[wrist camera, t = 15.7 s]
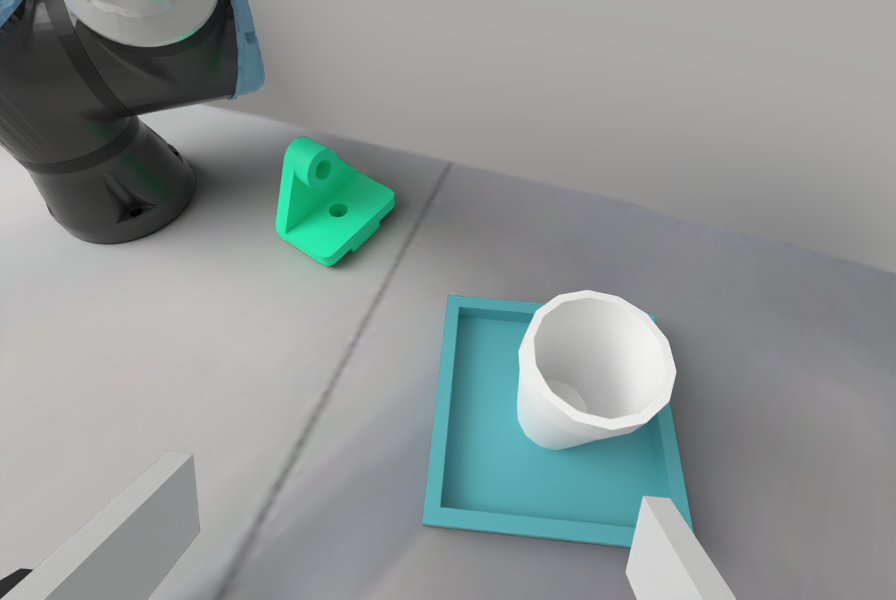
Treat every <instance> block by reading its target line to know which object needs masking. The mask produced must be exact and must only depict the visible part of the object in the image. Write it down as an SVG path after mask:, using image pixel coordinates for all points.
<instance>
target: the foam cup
mask: <svg viewBox="0 0 896 600" xmlns="http://www.w3.org/2000/svg"><path fill="white" fill-rule="evenodd" d="M518 353H519V368H520V373H519V384H518V396H517V414H518V422H519V423H520V425H521V427H522V429H523V431H524V433H525V435H526V436H527V437H529V438H530V439H531V440H532V441H534V442H535V443H536V444H537V445H539V446H540V447H544V448H548V449H552V450H561V449H565V448H570V447H575V446H578V445H581V444H584V443H588V442H591V441H594V440H600V439H605V438H610V437H614V436H619V435H624V434H628V433H631V432H633V431H635V430H636V429H638V428H639V427H641V426H642V425H644V424H645V423H647V422H648V421H649V420H650V419H651V418H652V417H653V416H654V415H655V414H656V413H657V412H658V411H659V410H661V409H662V408H663V407H664V406H665V405H666V404H667V403H668V402H669V400H670V396H671V392H672V388H673V384H674V380H675V376H676V372H677V371H676V368H675V364H674V360H673V357H672V353H671V349H670V345H669V342H668V340H667V338H666V337H665V336H664V335H663V333H662V332H661V331H660V330H659V328H658V327H657V326H656V325H655V323H654V322H653V321H652V319H651V318H650V317H649V316H648V314H646V313H645V312H643V311H641V310H640V309H638V308H636V307H635V306H633V305H632V304H630V303H628V302H627V301H625V300H623V299H622V298H620V297H618V296H613V295H609V294H604V293H599V292H595V291H590V290H585V291H579V292H573V293H567V294H561V295H558V296H556V297H555V298H554V299H552V300H551V301H549V302H548V303H547V304H545V305H544V306H542V307H541V308H540V309H538V310H537V311H536V312H535V314H534V316H533V318H532V321H531V323H530V325H529V327H528V329H527V331H526V334H525V336H524V338H523V341H522V343H521V346H520V349H519V351H518Z"/></svg>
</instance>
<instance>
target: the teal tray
mask: <svg viewBox="0 0 896 600" xmlns="http://www.w3.org/2000/svg"><path fill="white" fill-rule="evenodd" d="M544 305H545V304H543V303H532V302H521V301H510V300H498V299H487V298H476V297H465V296H454V295H448V298H447V307H446V316H445V325H444V334H443V343H442V352H441V361H440V370H439V379H438V388H437V397H436V405H435V414H434V423H433V432H432V441H431V450H430V459H429V468H428V477H427V486H426V495H425V504H424V513H423V521H422V524H423V526H429V527H438V528H447V529H456V530H465V531H475V532H484V533H493V534H502V535H511V536H521V537H530V538H539V539H548V540H557V541H567V542H576V543H585V544H594V545H604V546H613V547H622V548H631V546H632V542H633V537H634V533H635V529H636V524H637V520H638V516H639V511H640V507H641V503H642V498H643V496H652V497H663V498H670V499H671V501H672V502H673V504H674V505H675V507H676V508H677V510H678V511H679V513H680V514H681V516H682V517H683V519H684V520H685V522H686V523H687V525H688V526H689V528H690V529H691V531H692V532H693V528H692V522H691V517H690V511H689V505H688V500H687V494H686V489H685V483H684V478H683V472H682V467H681V461H680V455H679V450H678V444H677V439H676V433H675V428H674V422H673V417H672V411H671V406H670V400H669V402H668V403H667V404H666V405H665V406H664V407H663V408H662V409H661V410H659V411H658V412H657V413H656V414H655V415H654V416H653V417H652V418H651V419H650V420H649V421H648V422H647V423H645V424H644V425H642V426H641V427H639V428H638V429H636V430H635V431H633V432H631V433H628V434H624V435H619V436H614V437H610V438H605V439H600V440H594V441H591V442H588V443H584V444H581V445H578V446H575V447H570V448H565V449H561V450H552V449H548V448H544V447H540V446H539V445H537V444H536V443H535V442H534V441H532V440H531V439H530V438H529V437H527V436H526V435H525V433H524V431H523V429H522V427H521V425H520V423H519V422H518V414H517V396H518V384H519V373H520V368H519V353H518V351H519V349H520V346H521V343H522V341H523V338H524V336H525V334H526V331H527V329H528V327H529V325H530V323H531V321H532V318H533V316H534V314H535V312H536V311H537V310H538V309H540V308H541V307H542V306H544ZM646 314H648V316H649V317H650V318H651V319H652V321H653V322H654V323H655V325H656V322H655V317H654V313H646ZM693 534H694V533H693Z"/></svg>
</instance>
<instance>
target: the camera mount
mask: <svg viewBox="0 0 896 600" xmlns="http://www.w3.org/2000/svg"><path fill="white" fill-rule="evenodd" d="M394 206H395V198H394V192H393V191H392V190H391V189H389V188H387V187H385V186H384V185H382V184H380V183H378V182H376V181H374V180H372V179H371V178H369V177H367V176H365V175H363V174H361V173H359V172H358V171H356V170H355V169H354V168H352V167H351V166H350V165H348V164H347V163H345V162H344V161H343V160H341V159H340V158H339V157H337V155H336V153H335V152H334V151H332V150H331V149H329V148H327V147H325V146H323V145H321V144H319V143H317V142H315V141H314V140H312V139H310V138H308V137H299V138H297V139H295V140H294V141H293V142H292V143H291V144H290V145H289V146H288V148H287V150H286V152H285V156H284V162H283V170H282V178H281V185H280V193H279V201H278V209H277V216H276V224H275V229H276V231H277V233H278V235H279V237H280V238H282V239H284V240H285V241H287V242H288V243H290V244H291V245H293V246H294V247H296V248H298V249H299V250H301V251H302V252H304V253H305V254H307V255H309V256H310V257H312V258H313V259H315V260H316V261H318V262H319V263H321V264H323V265H325V266H330V265H333V264H335V263H336V262H338V261H339V260H340V259H341V258H342V257H343V256H344V255H345V254H346V253H347V252H348V251H349V250H350V251H352V252H355V251H356V250H357V249H358V248H359V247H360V246H361V245H362V244H363V243H364V242H365V241H366V240H367V239H368V238H369V237H370V236H371V235H372V234H373V233H374V232H375V231H376V230H377V229H378V228H379V227H380V223H379V221H380V220H381V219H382V218H383V217H384V216H385V215H386V214H388V213H389V212H390V211H391V210H392V209H393V208H394Z"/></svg>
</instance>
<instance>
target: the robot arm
mask: <svg viewBox="0 0 896 600" xmlns="http://www.w3.org/2000/svg"><path fill="white" fill-rule="evenodd" d="M264 81H265V73H264V66H263V61H262V56H261V52H260V47H259V43H258V40H257V37H256V35H255V28H254V24H253V19H252V15H251V11H250V7H249V4H248V0H0V145H1V146H2V147H3V148H4V149H6V150H7V151H8V152H9V153H10V154H11V155H12V156H13V157H14V158H15V159H16V160H17V161H18V162H19V163H21V164H22V165H23V166H24V167H25V168H26V169H27V170H28V172H29V174H30V175H31V177H32V179H33V181H34V183H35V184H36V186H37V188H38V190H39V192H40V193H41V195H42V197H43V198H44V200H45V202H46V205H47V207H48V210H49V212H50V214H51V215H52V217H53V218H54V219H55V220H56V221H57V222H58V223H59V224H60V225H61V226H62V227H64V228H65V229H66V230H67V231H68V232H69V233H70V234H72V235H73V236H75V237H77V238H79V239H81V240H84V241H87V242H92V243H103V244H106V243H119V242H125V241H129V240H133V239H136V238H139V237H142V236H145V235H147V234H150V233H152V232H154V231H156V230H158V229H160V228H161V227H163V226H165V225H166V224H168V223H169V222H170V221H172V220H173V219H174V218H175V217H177V216H178V215H179V214H180V213H181V212H182V211H183V209H184V208H185V207H186V206H187V204H188V203H189V201H190V200H191V198H192V196H193V193H194V190H195V176H194V173H193V171H192V169H191V168H190V166H189V165H188V163H187V162H186V160H185V158H184V157H183V156H182V155H181V153H180V152H179V151H178V150H176V149H175V148H174V147H173V146H171V145H170V144H168V143H167V142H166V141H165V140H164V139H163V138H162V137H160V136H159V135H158V134H157V133H156V132H154V131H153V130H152V129H151V128H149V127H148V126H147V125H146V124H144V123H143V122H142V121H141V120H140V119H139V118H138V116H137V115H142V114H147V113H152V112H158V111H163V110H168V109H174V108H179V107H184V106H190V105H195V104H200V103H206V102H211V101H218V100H223V99H228V100H233V99H236V98H237V97H238V96H241V95H245V94H249V93H253V92H256V91H258V90H260V89H261V88H262V86H263V84H264ZM199 532H200V524H199V512H198V501H197V490H196V479H195V468H194V457H193V454H188V453H177V452H167V453H165V454H164V455H163V456H162V457H161V458H160V459H159V460H158V461H156V462H155V463H154V464H153V465H152V466H151V467H150V468H148V469H147V470H146V471H145V472H144V473H143V474H142V475H141V476H139V477H138V478H137V479H136V480H135V481H134V482H133V483H131V484H130V485H129V486H128V487H127V488H126V489H125V490H124V491H122V492H121V493H120V494H119V495H118V496H117V497H116V498H114V499H113V500H112V501H111V502H110V503H109V504H108V505H107V506H105V507H104V508H103V509H102V510H101V511H100V512H99V513H98V514H96V515H95V516H94V517H93V518H92V519H91V520H90V521H88V522H87V523H86V524H85V525H84V526H83V527H82V528H81V529H79V530H78V531H77V532H76V533H75V534H74V535H73V536H71V537H70V538H69V539H68V540H67V541H66V542H65V543H64V544H62V545H61V546H60V547H59V548H58V549H57V550H56V551H55V552H53V553H52V554H51V555H50V556H49V557H48V558H47V559H45V560H44V561H43V562H42V563H41V564H40V565H39V566H38V567H36V568H35V569H34V570H31V569H19V570H17V571H15V572H14V573H12V574H10V575H9V576H7V577H5V578H4V579H2V580H0V600H147V599H148V598H149V597H150V596H151V594H152V593H153V592H154V590H155V589H156V588H157V587H158V585H159V584H160V583H161V581H162V580H163V579H164V577H165V576H166V575H167V574H168V572H169V571H170V570H171V568H172V567H173V566H174V565H175V563H176V562H177V561H178V559H179V558H180V557H181V556H182V554H183V553H184V552H185V550H186V549H187V548H188V546H189V545H190V544H191V543H192V541H193V540H194V539H195V537H196V536H197V535H198V534H199ZM626 575H627V577H628V580H629V582H630V584H631V587H632V589H633V592H634V594H635V596H636V599H637V600H737V599H736V598H735V596H734V595H733V593H732V592H731V590H730V589H729V587H728V586H727V584H726V583H725V581H724V580H723V578H722V577H721V575H720V574H719V572H718V571H717V569H716V567H715V566H714V564H713V563H712V561H711V560H710V558H709V557H708V555H707V554H706V552H705V551H704V549H703V548H702V546H701V545H700V543H699V542H698V540H697V539H696V537H695V536H694V534H693V532H692V531H691V529H690V528H689V526H688V525H687V523H686V522H685V520H684V519H683V517H682V516H681V514H680V513H679V511H678V510H677V508H676V507H675V505H674V504H673V502H672V501H671V499H670V498H663V497H652V496H643V498H642V503H641V507H640V511H639V516H638V520H637V524H636V529H635V533H634V537H633V542H632V546H631V551H630V555H629V559H628V564H627V568H626Z"/></svg>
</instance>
